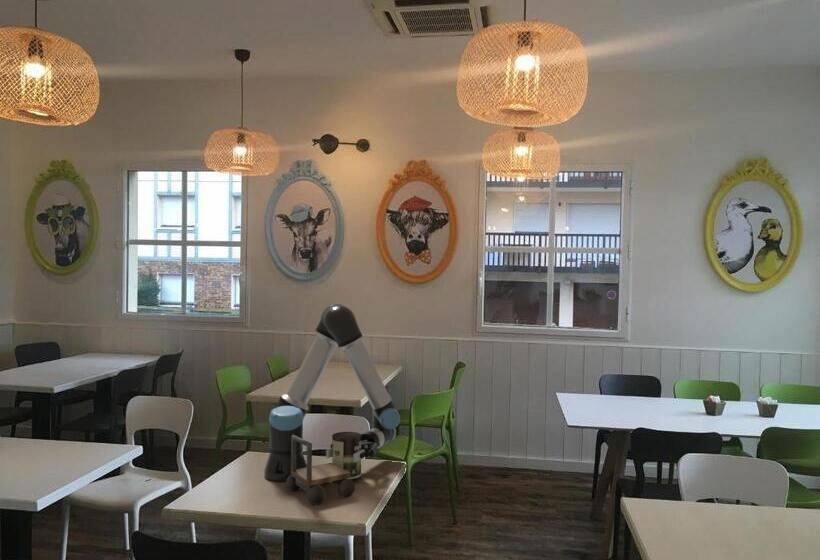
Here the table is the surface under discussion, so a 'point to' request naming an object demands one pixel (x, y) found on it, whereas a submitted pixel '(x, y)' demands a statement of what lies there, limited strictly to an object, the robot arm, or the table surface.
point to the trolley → (317, 476)
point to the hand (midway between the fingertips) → (340, 456)
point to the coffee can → (347, 452)
